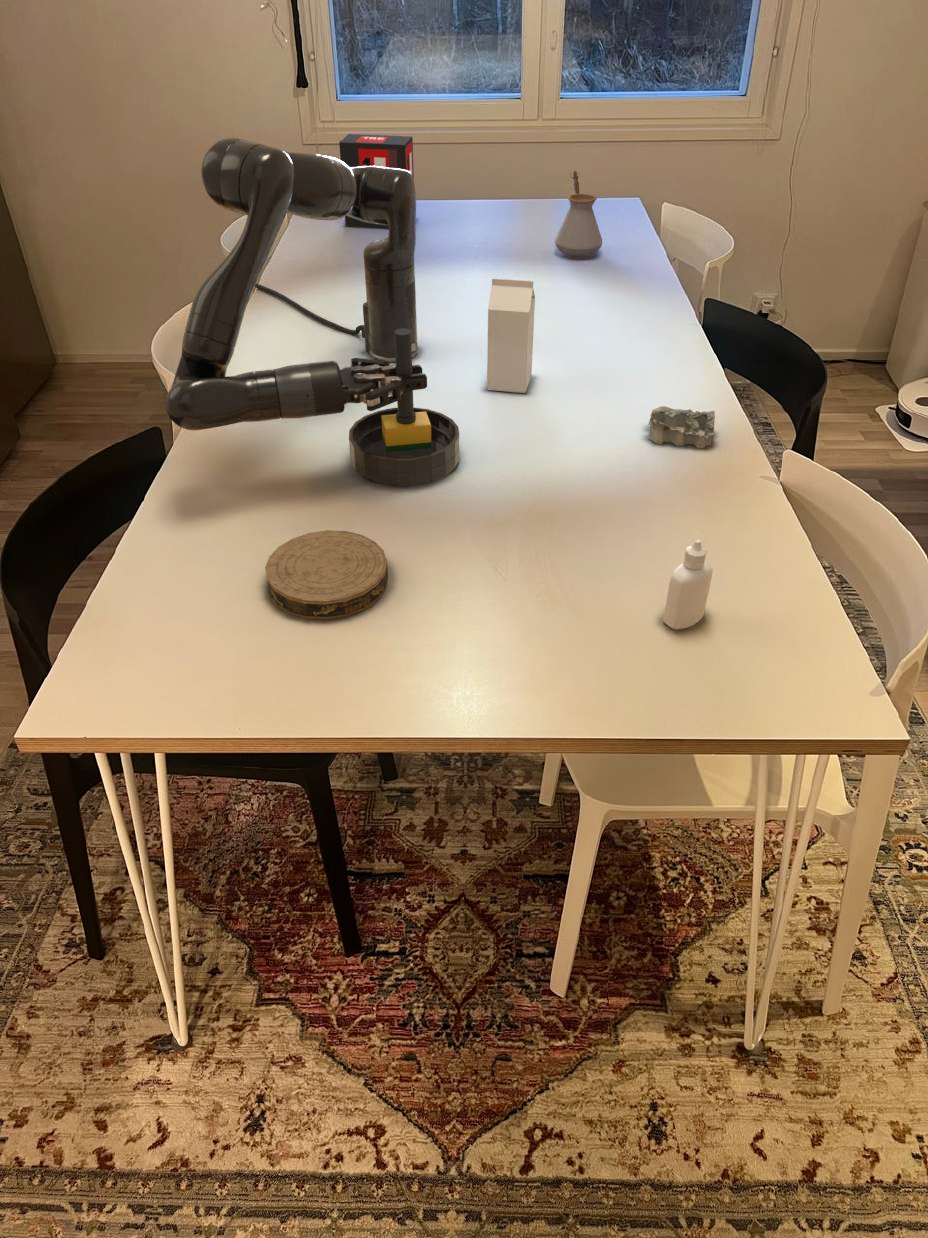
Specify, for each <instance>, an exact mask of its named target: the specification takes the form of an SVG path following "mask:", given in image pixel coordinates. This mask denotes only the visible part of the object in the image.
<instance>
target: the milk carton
mask: <svg viewBox="0 0 928 1238" xmlns="http://www.w3.org/2000/svg"><path fill="white" fill-rule="evenodd" d="M534 290H535V289H534V280H521V279H509V278H495V277H493V278H491V289H490V295H489V300H488V302H489V303H488V307H487V356H486V357H487V358H486V359H487V361H486V390H488V391H494V392H495V391H497V392H506V393H520V394H526V393H527V390H528V387H529V384H530V383H531V379H532V371H533V353H534V352H533V351H534V350H533V349H534V332H535V331H534V329H535V311H536V310H535V307H536V295H535V291H534Z"/></svg>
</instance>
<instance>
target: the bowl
mask: <svg viewBox="0 0 928 1238" xmlns="http://www.w3.org/2000/svg"><path fill="white" fill-rule="evenodd" d="M413 408H414V412H425V411H426V413H427V415H428V418H429V421H430V424H431V448H426V449H416V450H405V451H394V452H386V449H385V445H384V441H383V436H382V417H381V416H382V415H391V414H396V413H397V412H398V407H391V408H386V409H381V410H376V411H373V412H372V413H369V414H366V415H364V416H363V417H361V418H360V419H358V420H356V421H355V422H354V423H353V424H352V426H351V427H350V428H349V430H348V431H349V432H348V443H349V456H350V464H351V465H352V467H353V469H354V471H355V472H356V473H358V474H359V475H360V476H362V477H364V478H365V479H367V480H371V481H373V482H376V483H379V484H381V485H386V486H387V485H389V486H400V487H408V486H417V485H423V484H427V483H431V482H434V481H436V480H439V479H442V478H443V477H445V476H447V475H448V474H450V473H451V472H452V471H453V470H454V469H455V468H456V467H457V465H458V463H459V461H460V430H459V426H458V425H457V423H456V422H455V421H454V419H452V418H451V417H449V416H447V414H444V413H442V412H438V411H435V410H432V409H429V408H422V407H414V406H413Z"/></svg>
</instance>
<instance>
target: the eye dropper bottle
mask: <svg viewBox="0 0 928 1238" xmlns="http://www.w3.org/2000/svg"><path fill="white" fill-rule="evenodd" d="M706 558H707V549H706V548H704V546H702V540H701V539H698V538H697V539H694V542H693V544H692V545H688V546H687V547H686V548H685V552H684V557H683V562H682V563H681V564H679V565H678V566H677V567H676V568H675V569H674V571H673V572H672V573H671V576H670V579H669V584H668V589H667V594H666V601H665V606H664V612H663V617H662V620H663V623H664V624H666V625H667V626H668V627H670V628H671V629H672V630H675V631H676V630H684V629H688V628H690V627H693V626H694V625H696V624H698V623H699V622H700V621H701V619H702V618H703V617H704V615H705V611H706V608H707V607H706V606H707V602H708V597H709V592H710V587H711V583H712V577H713V567H712V566H711V565H710V564H709V563H708V562H707V561H706Z"/></svg>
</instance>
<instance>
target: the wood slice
mask: <svg viewBox="0 0 928 1238" xmlns="http://www.w3.org/2000/svg"><path fill="white" fill-rule="evenodd" d="M264 568H265V574H266V581H267V587H268V593H269V598H270V599H271V600H272V601H273V603H274V604H275V605H276V607H277V608H279V609H281V610H282V611H284V612H285V613H287V614H289V615H291V616H294V617H295V616H296V617H299V618H303V619H305V620H306V619H307V620H324V621H325V620H326V621H328V620H336V619H341V618H347V617H351V616H352V615H355V614H358V613H360V612H363V611H365V610H367V609H368V608H370V607H371V606H372V605H374V604H375V603H377V602H378V601H379V600H380V599H381V597H382V596H383V594H384V593H385V592H386V591H387V586H388V581H389V571H388V559H387V557H386V554H385V551H384V549H383V548H382V547H381V546H380V545H379V544H378V543H377V541H375V540H374V539H371V538H369V537H367V536H365V535H363V534H359V533H355V532H352V531H348V530H320V531H313V532H307V533H305V534H301V535H298V536H295V537H293V538H291V539H289V540H287V541H285V542H284V543H283V544H281V545H279V546H277V548H275V550H274V551H273V552H272V553H271V554H270V555H269V556H268V559H267V562H266V565H265V567H264Z"/></svg>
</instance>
